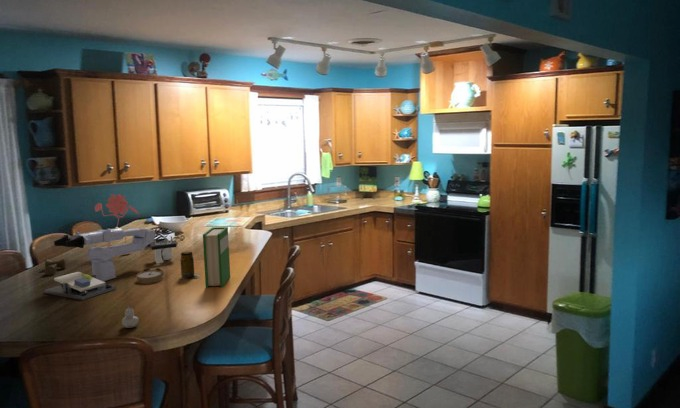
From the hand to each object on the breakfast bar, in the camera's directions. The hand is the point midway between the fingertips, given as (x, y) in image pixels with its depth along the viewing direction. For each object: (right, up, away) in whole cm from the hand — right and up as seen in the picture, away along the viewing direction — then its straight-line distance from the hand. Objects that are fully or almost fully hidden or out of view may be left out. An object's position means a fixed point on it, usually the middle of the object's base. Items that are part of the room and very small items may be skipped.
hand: (60, 243), depth 235 cm
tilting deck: (+8, -16, +1) cm, 18 cm away
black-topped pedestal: (+28, -14, +55) cm, 63 cm away
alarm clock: (+33, -19, +18) cm, 42 cm away
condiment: (+51, -18, +21) cm, 58 cm away
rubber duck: (+48, -26, -45) cm, 71 cm away
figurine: (-5, -11, +78) cm, 79 cm away
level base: (+8, -21, +1) cm, 23 cm away
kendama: (-23, -17, +39) cm, 49 cm away
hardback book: (+67, -19, +11) cm, 70 cm away
